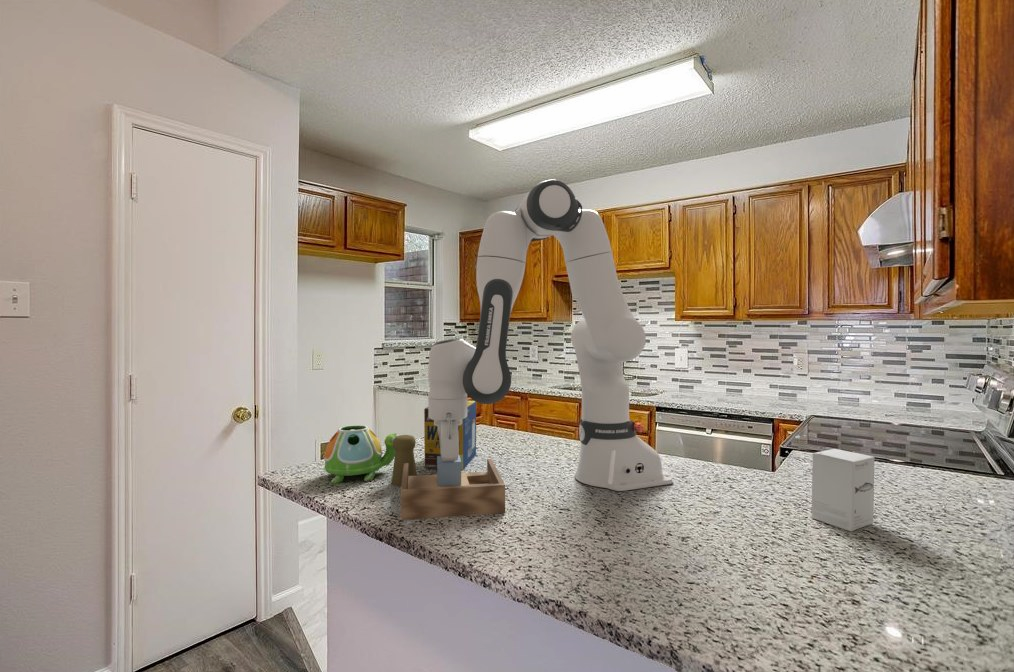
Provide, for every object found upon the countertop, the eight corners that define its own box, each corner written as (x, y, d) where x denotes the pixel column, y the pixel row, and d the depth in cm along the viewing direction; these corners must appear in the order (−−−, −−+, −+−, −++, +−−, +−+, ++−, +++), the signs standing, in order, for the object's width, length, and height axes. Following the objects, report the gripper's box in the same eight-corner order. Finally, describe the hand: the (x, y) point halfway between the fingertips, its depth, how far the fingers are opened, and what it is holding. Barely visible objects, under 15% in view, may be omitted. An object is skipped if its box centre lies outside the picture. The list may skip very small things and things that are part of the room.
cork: (420, 478, 118) (420, 433, 117) (413, 487, 112) (413, 438, 111) (396, 478, 118) (395, 432, 118) (387, 486, 112) (387, 438, 112)
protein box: (423, 468, 126) (423, 408, 126) (441, 453, 141) (441, 399, 141) (463, 470, 124) (463, 409, 124) (477, 454, 139) (476, 400, 139)
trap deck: (491, 482, 115) (491, 458, 115) (505, 512, 96) (505, 484, 96) (404, 487, 111) (403, 463, 111) (400, 520, 93) (400, 491, 93)
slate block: (459, 477, 110) (459, 455, 110) (461, 484, 105) (461, 461, 105) (437, 478, 109) (437, 456, 109) (437, 486, 104) (437, 463, 104)
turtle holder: (405, 477, 119) (404, 428, 119) (325, 487, 112) (325, 435, 112) (396, 464, 130) (395, 419, 130) (323, 472, 123) (322, 424, 123)
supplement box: (852, 532, 86) (853, 461, 86) (810, 518, 93) (810, 452, 93) (875, 524, 90) (876, 456, 90) (832, 511, 96) (833, 447, 96)
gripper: (465, 417, 102) (465, 483, 102) (459, 402, 122) (459, 457, 123) (434, 418, 101) (434, 485, 101) (433, 402, 121) (433, 458, 122)
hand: (448, 469), depth 112 cm, fingers closed
